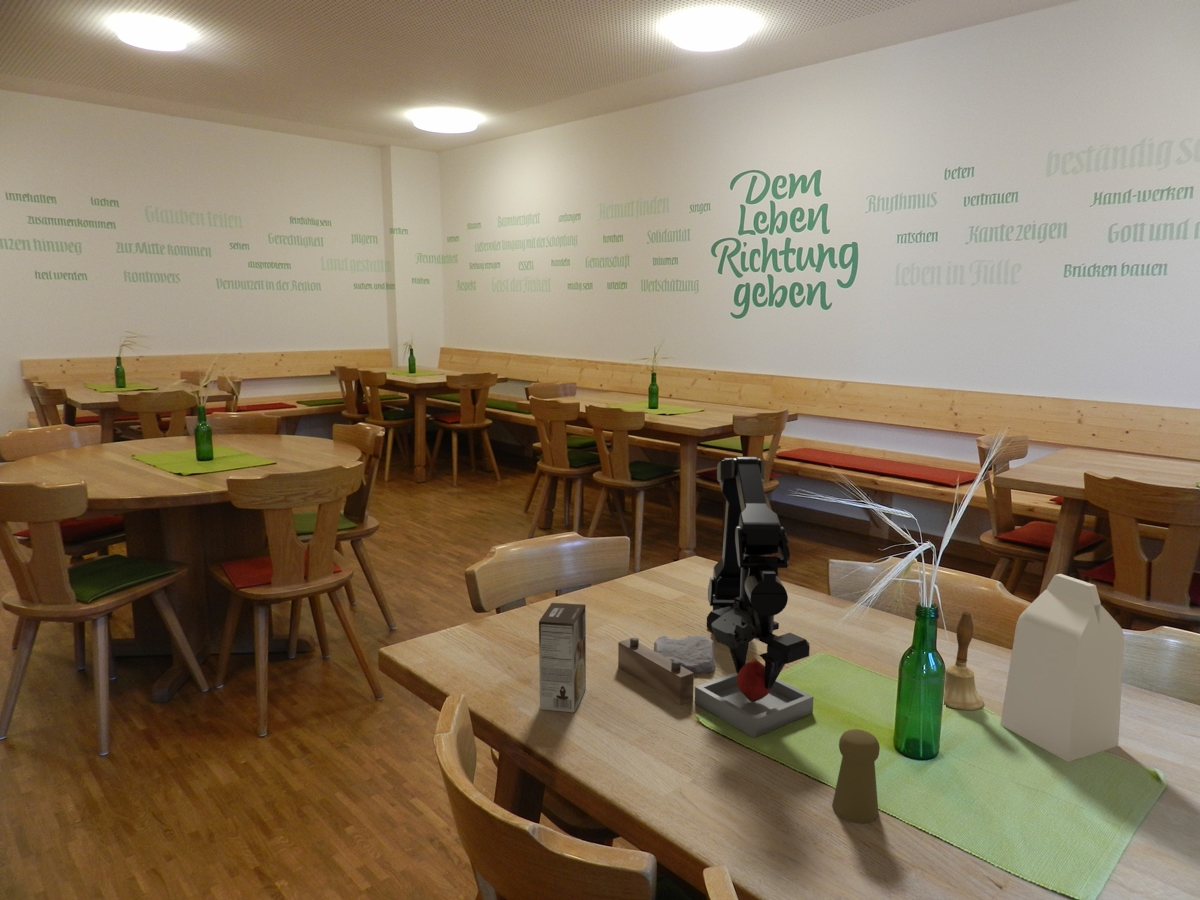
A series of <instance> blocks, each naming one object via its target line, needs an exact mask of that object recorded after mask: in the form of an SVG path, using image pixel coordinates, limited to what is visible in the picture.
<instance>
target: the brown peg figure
mask: <svg viewBox="0 0 1200 900" xmlns="http://www.w3.org/2000/svg"><path fill="white" fill-rule="evenodd" d="M838 748H839V752H840V754H841V756H842V757H841V762H840V766H839V772H838V775H837V780H836V785H835V791H834V795H833V800H832V805H831V806H832V810H833V812H834V813H835V814H836V815H837V816H839V817H840V818H842V819H844V820H846V821H849V822H853V823H856V824H857V823H858V824H867V823H872V822H874V821H876V819H877V818H878V817H879V805H878V803H879V802H878V791H877V790H878V789H877V779H876V778H877V777H876V776H877V775H876V764H875V763H876V761H877V759H878V758H879V755H880V743H879V741H878V739H877V737H876V736H875V735H874V734H872V733H871V732H869V731H866V730H863V729H855V728H854V729H848V730H845V731H844V732H843V733H842V734H841V736H840V738H839V742H838Z"/></svg>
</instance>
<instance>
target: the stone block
mask: <svg viewBox="0 0 1200 900" xmlns="http://www.w3.org/2000/svg"><path fill="white" fill-rule="evenodd" d="M714 645H715V643H714V640H713V639H712V638H709V637H707V636H705V635H694V636H686V637H683V638H671V637H668V636H666V635H665V636H664V635H662V636H659V637H658V638H657V639H656V640H655V641H654V642H653V651H655V652H657V653H659V654H660V655H662V656H664V657H666V658H668V659H669V660H671V661H674V660H677V661H680V662H681V666H682V667H684V668H686V669H688V670H689V671H691V672H693V673H694V674H702V673H703V674H705V673H711V672H715V670H716V668H717V665H716V662H715V655H714V649H715V646H714Z"/></svg>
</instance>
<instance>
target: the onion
mask: <svg viewBox="0 0 1200 900" xmlns="http://www.w3.org/2000/svg"><path fill="white" fill-rule="evenodd" d="M737 685H738V688H739V690H740V692H742V693H743V694H744V695H745V696H746V697H747V698H748V699H749V700H750V701H751V702H755V701H758V700H760V699H762V698H764V697H765V696H766V695H768V693H769V692H770V689H771V688H770V689H766V688H765V664H763V663H762V662H760V661H759V660H758V658H757V657H755V656H751V659H750V661H749V662H747V663H746V664H745V665H744V666H743V667H742V668H741V669H740V671H739V673H738V676H737Z"/></svg>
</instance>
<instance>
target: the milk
mask: <svg viewBox="0 0 1200 900" xmlns="http://www.w3.org/2000/svg"><path fill="white" fill-rule="evenodd" d="M1014 630H1015V631H1014V638H1013V644H1012V650H1011V654H1010V655H1011V657H1010V662H1009V667H1008V668H1009V669H1008V675H1007V681H1006V687H1005V692H1004V699H1003V705H1002V710H1001V718H1000V721H999V722H1000V726H1001V727H1004V728H1005V729H1007V730H1009V731H1011V732H1013V733H1015V734H1016V735H1018V736H1020V737H1022V738H1024V739H1025V740H1027V741H1029V742H1031V743H1033V744H1034V745H1036V746H1038V747H1040V748H1041V749H1043V750H1046V751H1047V752H1048V753H1051V754H1053V755H1055V756H1056V757H1057V758H1060V759H1062V760H1063V761H1065V762H1066V763H1067V762H1071V761H1075V760H1077V759H1078V760H1079V759H1080V758H1084V757H1088V756H1090V755H1094V754H1098V753H1100V752H1103V751H1106V750H1111V749H1113V748H1117V747H1119V743H1120V742H1119V740H1120V739H1119V738H1120V723H1121V722H1120V720H1121V703H1122V702H1121V701H1122V683H1123V668H1124V667H1123V666H1124V665H1123V664H1124V649H1125V648H1124V647H1125V646H1124V645H1125V634H1124V631H1123V629H1122V627H1121V625H1120V624H1119V623H1118V622H1117V621H1116V620H1115V618H1114V617H1113V616H1112V615H1111V614H1110V612H1108V611H1107V610H1106V609H1105V607H1104V606H1103V605H1102V602H1101V599H1100V596H1099V593H1098V588H1097V585H1096V584H1094V583H1093V584H1092V583H1090V582H1088V581H1084V580H1081V579H1077V578H1075V577H1071V576H1068V575H1065V574H1063V573H1057V574H1054V575H1053V577H1052V578H1051V581H1050V582H1049V583H1048V585H1047V586H1046V589H1044V590H1043V591H1042V592H1041V593H1040V595H1038V596H1037V598H1035V599H1034V600H1033V601H1032V602H1031V603H1030V604H1029V606H1027V607H1026V608H1025V609H1024V610H1023V611H1022V613H1021V614H1020V615H1019V617H1018V618H1017V622H1016V625H1015V629H1014Z"/></svg>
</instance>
